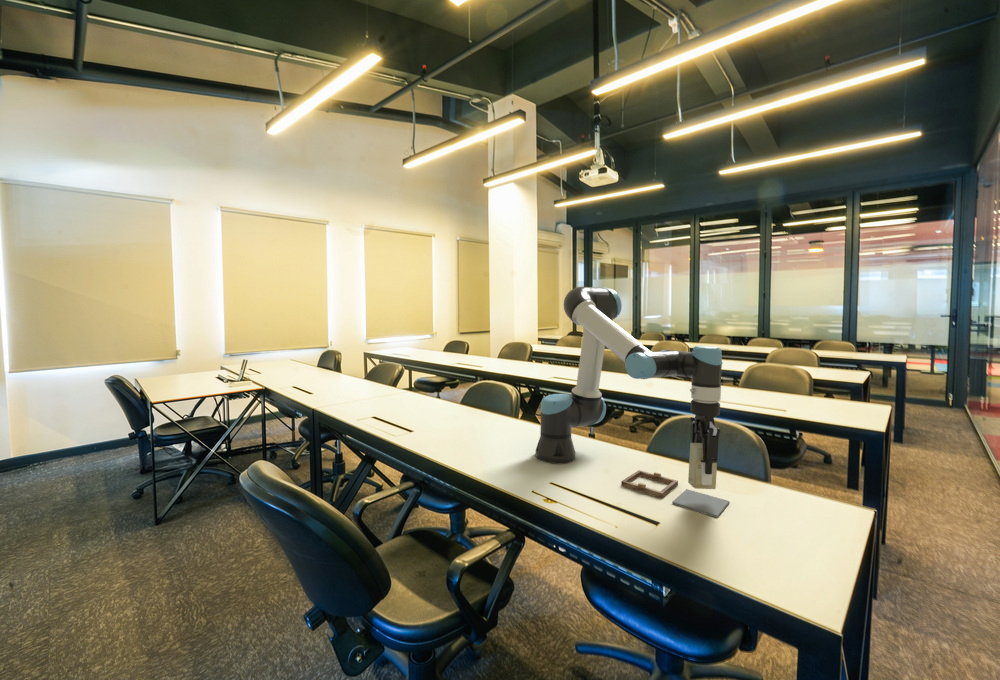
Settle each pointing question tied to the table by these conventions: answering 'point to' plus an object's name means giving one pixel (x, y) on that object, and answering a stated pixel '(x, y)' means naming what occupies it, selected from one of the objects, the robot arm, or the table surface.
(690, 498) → the mat
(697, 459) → the skincare box
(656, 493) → the collar
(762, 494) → the table surface
